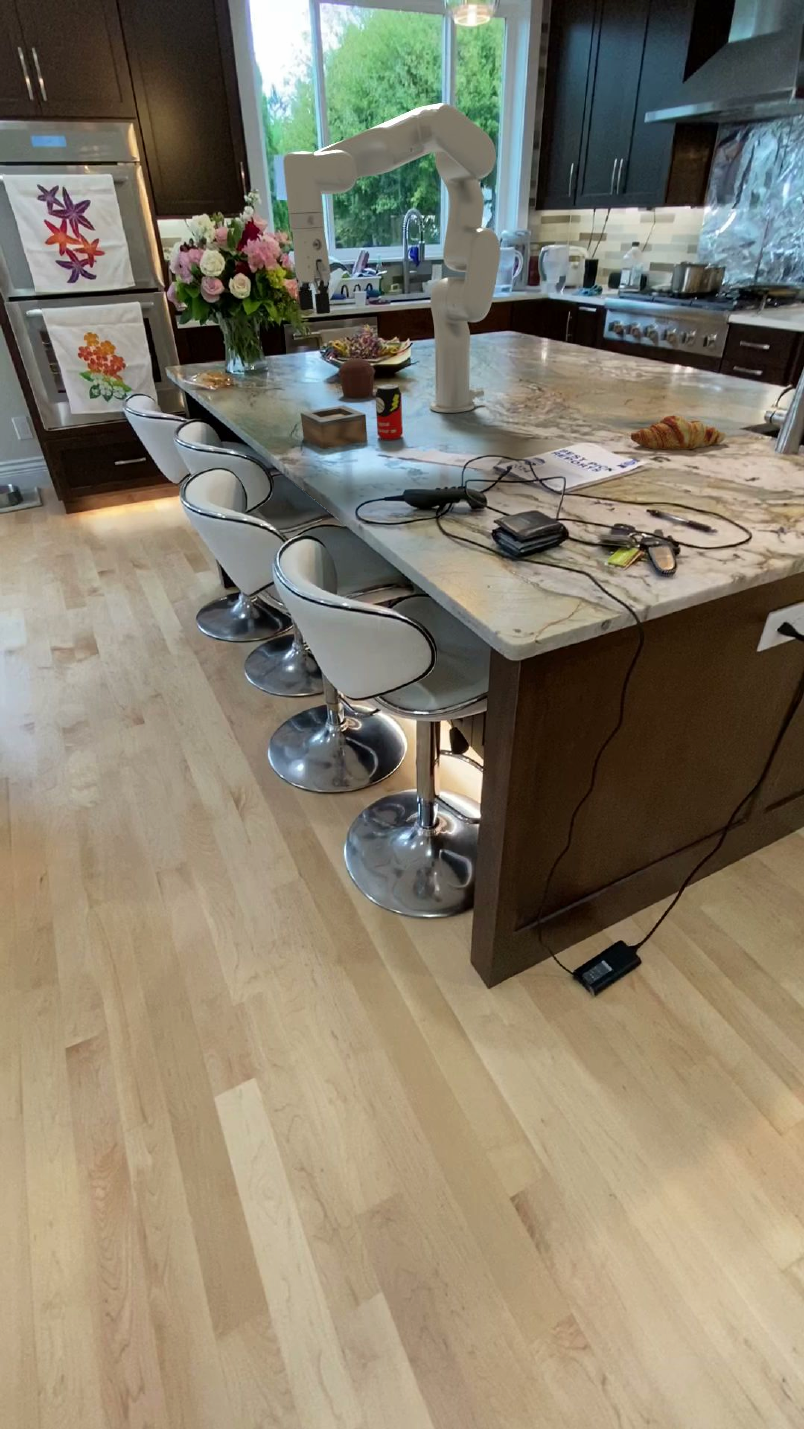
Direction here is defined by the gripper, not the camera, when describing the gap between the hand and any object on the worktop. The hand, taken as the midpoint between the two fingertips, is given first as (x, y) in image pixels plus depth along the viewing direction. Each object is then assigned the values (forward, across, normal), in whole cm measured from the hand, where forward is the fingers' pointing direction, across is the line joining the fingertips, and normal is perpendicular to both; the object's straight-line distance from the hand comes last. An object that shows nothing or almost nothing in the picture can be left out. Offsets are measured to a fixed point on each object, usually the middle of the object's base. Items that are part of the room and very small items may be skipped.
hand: (315, 311), depth 169 cm
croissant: (+28, -58, -62) cm, 90 cm away
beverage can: (+28, -12, -12) cm, 33 cm away
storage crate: (+28, -5, 0) cm, 28 cm away
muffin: (+28, +38, -27) cm, 54 cm away
